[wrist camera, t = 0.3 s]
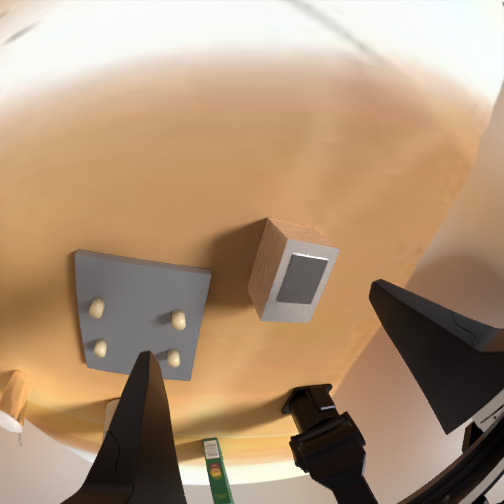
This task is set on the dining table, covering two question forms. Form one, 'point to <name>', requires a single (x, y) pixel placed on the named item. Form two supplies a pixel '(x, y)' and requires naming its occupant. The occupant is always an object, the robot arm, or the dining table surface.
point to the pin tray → (139, 312)
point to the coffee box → (217, 472)
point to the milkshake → (15, 403)
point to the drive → (290, 271)
